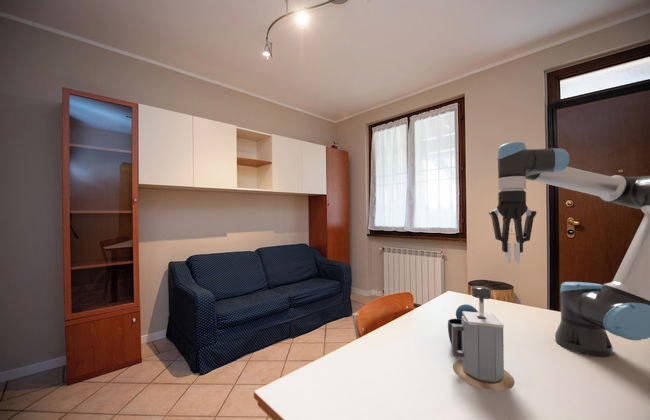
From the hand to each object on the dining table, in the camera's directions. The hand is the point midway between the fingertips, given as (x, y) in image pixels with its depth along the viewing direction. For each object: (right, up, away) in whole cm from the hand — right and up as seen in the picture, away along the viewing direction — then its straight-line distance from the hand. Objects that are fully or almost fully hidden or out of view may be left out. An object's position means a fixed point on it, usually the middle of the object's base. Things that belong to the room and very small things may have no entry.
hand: (512, 262), depth 89 cm
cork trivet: (-14, -32, -8) cm, 36 cm away
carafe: (-16, -32, -7) cm, 36 cm away
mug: (-11, -33, +8) cm, 36 cm away
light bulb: (-5, -33, +19) cm, 38 cm away
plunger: (-14, -18, -8) cm, 25 cm away
